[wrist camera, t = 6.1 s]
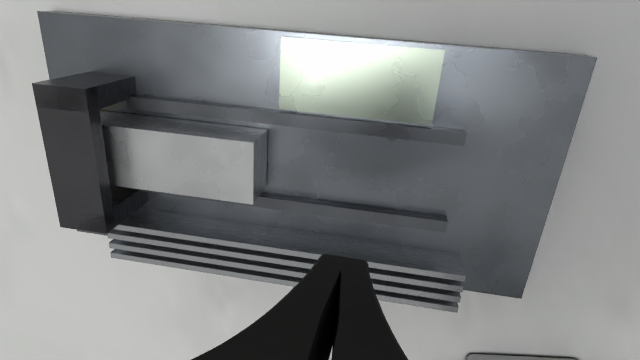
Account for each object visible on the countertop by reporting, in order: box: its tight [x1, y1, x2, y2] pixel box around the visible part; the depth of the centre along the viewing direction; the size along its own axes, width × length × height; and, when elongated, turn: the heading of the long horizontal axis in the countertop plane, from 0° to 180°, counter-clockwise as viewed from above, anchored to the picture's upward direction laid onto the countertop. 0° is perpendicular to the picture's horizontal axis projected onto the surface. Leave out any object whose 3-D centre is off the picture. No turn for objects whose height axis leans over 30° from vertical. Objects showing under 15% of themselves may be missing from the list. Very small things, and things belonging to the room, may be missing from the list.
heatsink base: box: [32, 11, 597, 312], centre depth 19 cm, size 25×12×5 cm, turn 86°
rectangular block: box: [100, 111, 268, 205], centre depth 20 cm, size 10×3×2 cm, turn 86°
